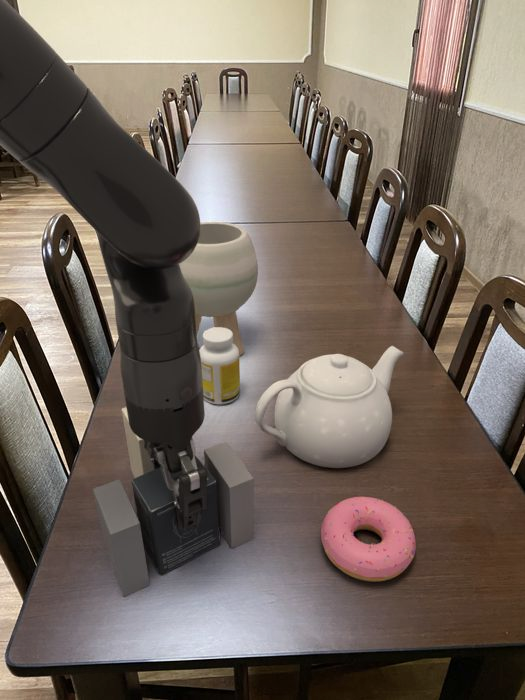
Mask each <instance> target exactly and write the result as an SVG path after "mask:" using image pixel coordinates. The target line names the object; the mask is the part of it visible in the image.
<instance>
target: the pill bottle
mask: <svg viewBox="0 0 525 700" xmlns="http://www.w3.org/2000/svg"><path fill="white" fill-rule="evenodd" d="M202 342H203V345H201V347H200V348H199V352H200V357H201V366H202V381H203V397H204V401H206V402H208V403H210V404H214V405H227V404H231V403H232V402H234V401H235V400H237V399H238V398H239V396H240V393H241V373H240V371H241V370H240V355H239V350H238V348H237V347H236V345H234V344H233V333H232V331H231V330H229V329H227V328H222V327H210V328H207V329H206V330H205V331H204V332H203V333H202Z"/></svg>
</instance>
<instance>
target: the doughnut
mask: <svg viewBox="0 0 525 700" xmlns="http://www.w3.org/2000/svg"><path fill="white" fill-rule="evenodd" d="M361 530H368V531H371V532H374V533H375V534H377V535H378V536H379V537H380V538H381V541H380V542H377V543H375V542H372V543H371V544H370V543H368V542H367V543H365V542H363V540H361V541H360V539H359V538H358V539H357V537H355V534H354V533H355V532H357V531H361ZM416 536H417V534H415V533H414V530H413V526H412V525H411V523H410V519H408V518H407V517H406V516H405V513H403V512H402V511H400V510H399V509H398V508H397V506H396V505H395V506H394V505H393V504H391V503H389V502H387V501H386V499H384V500H382V499H379V498H377V497H371V496H363V495H361V496H358V495H357V494H356V496H353V497H349V498H348V497H347V498H345V499H344V500H341V501H338V502H336V504H334V506H332V507H331V508H328V511H327V513H326V515H324V518H323V521H322V523H321V527H320V539H321V543H322V547H323V549H324V552H325V554H326V555H327V557H328V559H329V560H330V562H331V563H332V564H333V565H334V566H335V567H336V568H337V569H338V570H340V571H341V572H343V573H344V574H346V575H347V576H349V577H352V578H354V579H357V580H360V581H363V582H364V581H365V582H373V583H374V582H384V581H388V580H392V579H394V578H396V577H398V576H400V575H401V574H402V573H403V572H404V571H405V570H406V569H408V566H409V565H410V564H411V563H412V561H413V559H414V558H415V555H416V549H417V542H416Z"/></svg>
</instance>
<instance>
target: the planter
mask: <svg viewBox="0 0 525 700" xmlns="http://www.w3.org/2000/svg"><path fill="white" fill-rule="evenodd" d="M257 257H258V256H257V253H256V249H255V246H254V244H253V241H252V238H251V237H250V234H249V233H248V231H247V229H245V228H244V227H242V226H240V225H239V224H236V223H230V222H224V221H202V222H201V221H200V236H199V240H198V243H197V245H196V247H195V249H194V251H193V252H192V254H191V255H190V256H189V257H188V258H187V259H186V260H184V261H183V262H182V263H180V264H179V265H180V269H181V272H182V274H183V276H184V278H185V280H186V282H187V283H188V285H189V287H190V289H191V292H192V295H193V298H194V304H195V317H196V332H197V335H198V334H199V330H200V326H201V323H202V317H206V318H212V320H213V326H214V327H213V328H215V327H222V328H227V329H229V330H231V331H232V333H233V344H234V345H236V347H237V348H238V350H239V356H242V355H243V354H244V353H245V350H244V344H243V340H242V339H243V338H242V335H241V331H240V326H239V321H238V316H237V311H238V310H239V309H241V307H243V306H244V305H245V304H246V303H247V302H248V301H249V299H250V298H251V296H252V295H253V293H254V291H255V289H256V287H257V283H258V275H259V264H258V258H257Z"/></svg>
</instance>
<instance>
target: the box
mask: <svg viewBox="0 0 525 700" xmlns="http://www.w3.org/2000/svg"><path fill="white" fill-rule="evenodd" d="M194 456H195V460H196V464H197V469H198V468H201V467H204V469H205V470H206V472H207V501H206V508H205V509H203V510H199V511H197V515H198V522H197V524H196V525H194V526H191V527H189V528H186V529H184V530H179V528H178V526H177V523H176V515H175V506H174V503H173V502H174V500H173V496H172V492H171V490H170V489H169V488H168V487H167V486H166V485H165V484H164V480H163V476H162V472H161V468H157V469H155V470H153V471H150V472H148V473H146V474H143V475H141V476H139V477H136V478H134V477H133V478H131V486H132V492H133V498H134V504H135V505H134V506H135V510H136V516H137V518H138V520H139V522H140V527H141V533H142V539H143V545H144V549H145V551H146V552H147V554H148V556H149V557H150V559H151V561H152V563H153V565H154V566H155V568H156V570H157V572H158V574H159V575H161V576H162V575H165V574H167V573H168V572H170V571H172V570H174V569H176V568H177V567H180V566H182V565H184V564H185V563H187V562H189V561H192V560H193V559H195V558H197V557H199V556H200V555H202V554H204V553H206V552H208V551H210V550H212V549H214V548H216V547H217V546H220V545H221V535H220V528H219V520H218V505H217V491H216V480H215V479H214V478H213V476H212V475H211V474H210V473H209V472H208V470H207V469H206V468H205V464H203V463H202V461H201V460H200V459H199V458H198V457H197V456H196V454H194ZM181 474H183V472H182V471H179V472H176V473H170V477H171V478H173V477H176V476H178V475H181ZM178 491H179V488H178Z"/></svg>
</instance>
